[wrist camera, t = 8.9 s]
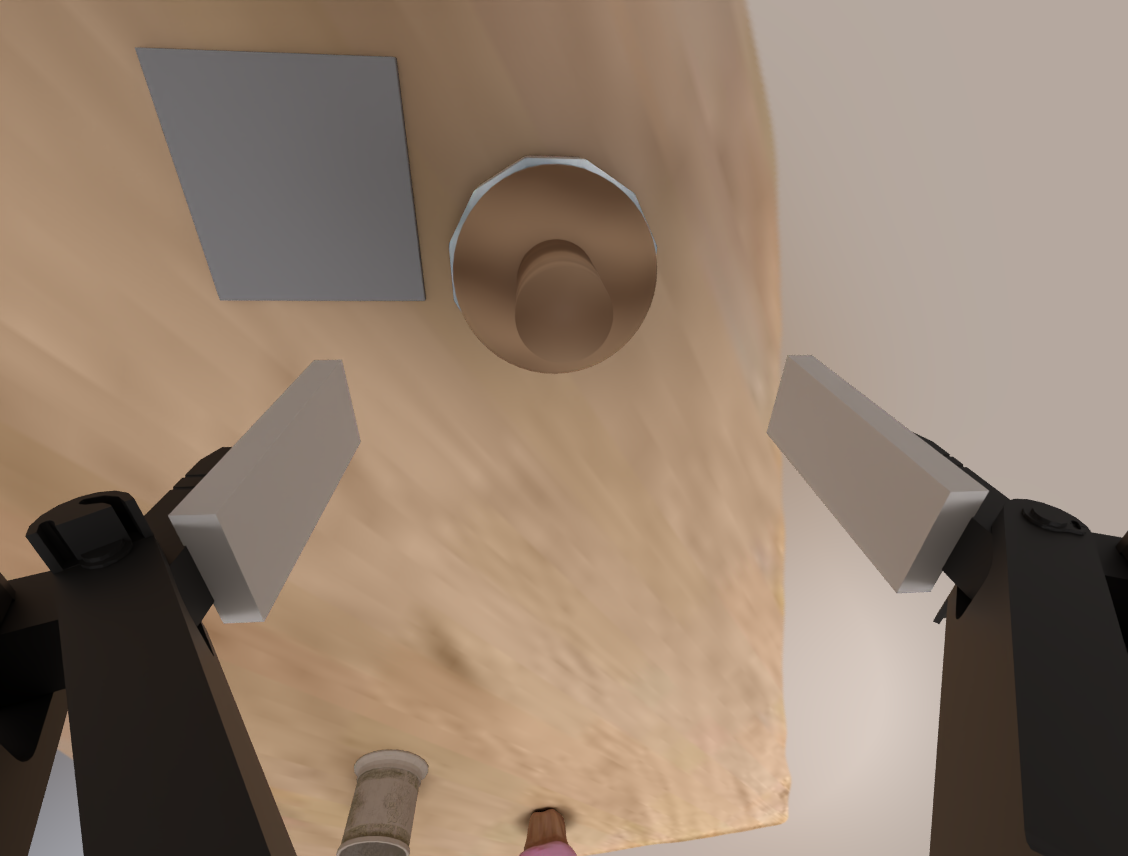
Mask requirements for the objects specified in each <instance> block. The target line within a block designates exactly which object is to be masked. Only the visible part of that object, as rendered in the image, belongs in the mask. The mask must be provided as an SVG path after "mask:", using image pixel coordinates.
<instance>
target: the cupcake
mask: <svg viewBox="0 0 1128 856" xmlns="http://www.w3.org/2000/svg"><path fill="white" fill-rule="evenodd" d="M519 856H577V855H576V853H575V852H574V850H573V849H572V848H571V847H570V846H569V845H568V842H567V839H566V830H565V823H564V818H563V817H562V815H561V814H559V813H558V812H557V811H555V810H554V809H549V810H546V811H544V812H534V813H533V814H532V815H531V818H530V822H529V827H528V834H527V840H526V843H525V847H524V852H522V853H521V854H520V855H519Z"/></svg>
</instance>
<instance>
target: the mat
mask: <svg viewBox="0 0 1128 856" xmlns="http://www.w3.org/2000/svg"><path fill="white" fill-rule="evenodd" d="M135 50H136V52H137V55H138V58H139V61H140V64H141V67H142V70H143V73H144V76H145V79H146V82H147V85H148V88H149V91H150V94H151V97H152V100H153V103H154V106H155V109H156V112H157V115H158V118H159V121H160V124H161V127H162V130H163V133H164V136H165V139H166V141H167V144H168V147H169V150H170V153H171V156H172V159H173V162H174V165H175V168H176V171H177V174H178V177H179V180H180V183H181V186H182V189H183V192H184V195H185V198H186V201H187V204H188V207H189V210H190V213H191V216H192V219H193V222H194V225H195V228H196V231H197V233H198V236H199V239H200V242H201V245H202V248H203V251H204V254H205V257H206V260H207V263H208V266H209V269H210V272H211V275H212V278H213V281H214V284H215V287H216V290H217V293H218V296H219V299H220V300H287V301H425V300H426V297H425V289H424V281H423V272H422V264H421V256H420V248H419V240H418V231H417V223H416V215H415V207H414V199H413V190H412V182H411V174H410V166H409V158H408V149H407V141H406V133H405V125H404V117H403V108H402V100H401V92H400V84H399V76H398V67H397V59H396V57H381V56H353V55H326V54H299V53H271V52H244V51H217V50H189V49H162V48H135Z"/></svg>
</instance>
